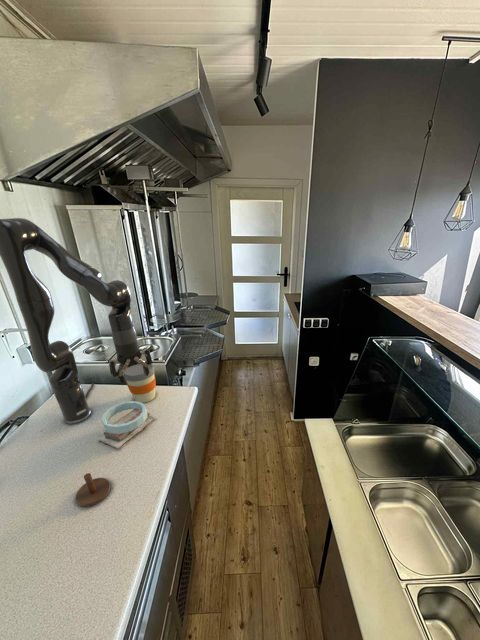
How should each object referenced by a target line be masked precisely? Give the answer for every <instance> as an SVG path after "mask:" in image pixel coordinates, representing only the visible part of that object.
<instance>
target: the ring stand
mask: <svg viewBox="0 0 480 640" xmlns="http://www.w3.org/2000/svg"><path fill="white" fill-rule="evenodd" d="M83 479H84V482H85V483H84V484H82V486H81V487H79V489H78V490H77V492H76V494H75V500H76V502H77V504H78V505H79V506H80V507H83V508H88V507H93V506H95V505H97V504H100V502H102V501H103V500H105V499H106V498H107V497H108V495H109V494H110V491H111V484H110V483H111V482H110V481H109V480H108V479H107V478H105V477H97V478H93V475H92V474H91V473H90V472H88V473H86V474H84V475H83Z"/></svg>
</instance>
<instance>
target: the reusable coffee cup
mask: <svg viewBox="0 0 480 640" xmlns="http://www.w3.org/2000/svg"><path fill="white" fill-rule="evenodd" d="M148 369H149V374H148V376H146V375H145V374H144V371H143V365H141V364H140V363H137V365H133V366H131V367H127V368H126V370H125V371H124V373H123V376H124V380H125V384H126V387H127V389H128V390H129V393H131V394H132V397H133V399H134V401H138V402H141V403H143V404H144V403H148V402H151V401H152V400H153V399H155V397H156V386H157V385H156V383H157V382H156V381H157V380H156V376H155V370H156V369H155V368H154V365H153V363H152V364H149V365H148Z"/></svg>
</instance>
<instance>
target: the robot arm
mask: <svg viewBox="0 0 480 640" xmlns="http://www.w3.org/2000/svg"><path fill="white" fill-rule="evenodd" d="M33 250H34V251H36V252H39V253H41V254H43V255H45V256H46V257H47V258H49V259H50V260H51V261H52V262H53V264H54V265H55V266H56V268H57V270H59V272H60V273H61V274H62V275H63V276H64V277H66V278H67V279H69V280H70V281H72V282H73V283H75V284H77V285H78V286H80V287H81V288H83V289H84V290H86V292H87V293H88V294H90V296H91V297H93V299H94V300H95V301H97V302H98V303H99V304H101V305H103V306H105V307H109V308H110V307H111V310H110V311H109V313H108V314H107V319H108V323H109V327H110V331H111V338H112V342H113V346H114V348H115V352H116V358H114V359H111V358H109V359H108V361H107V363H108V367H109V371H110V374H111V375H112V377H114V378H116V377H117V378H118V382H119V383H120V385H126V380H125V378H124V371H125V370H126V368H127V367H131V366H133V365H137V363H140V364H141V365H143V371H144V374H145V375H146V376H148V374H149V369H148V365H149V364H152V365H153V359H152V356H151V352H150V350H149V349H148V348H147V347H144V348H143V349H142V350H141V349H140V346H139V341H138V335H137V332H136V330H135V327H134V323H133V318H132V315H131V313H132V312H131V311H132V295H131V291H130V289H129V286H128V285H127V284H126V283H125V282H124V281H122V280H118V279H117V280H116V279H115V280H112V281H109V282H107V283H106V282H104V280H102V277H103V276H102V273H101V272H100V271H99V270H98V269H96V268H95V267H93V266H92V265H90V264H88V263H87V262H85V261H83V260H81V259H80V258H78V257H77V256H76V255H74V254H73V253H71V252H70V251H69V250H67V249H66V248H65V247H64V246H62V245H61V244H60V243H59V242H58V241H56V240H55V239H54V238H53V237H51V236H50V235H49V234H48V233H47V232H46V231H44V230H43V229H42V228H41V227H39V226H38V225H37V224H36V223H34V222H33V221H32V220H29V219H27V218H23V217H14V218H0V259H1V261H2V264H3V266H4V267H5V268H4V269H5V270H6V273H7V275H8V278H9V280H10V284H11V286H12V289H13V292H14V296H15V300H16V302H17V306H18V308H19V311H20V313H21V316H22V319H23V322H24V326H25V329H26V331H27V335H28V339H29V344H30V351H31V354H32V359H33V361H34V363H35V365H36V366H37V368H38V369H39V370H40V371H42V372H43V373H52V374H51V375H50V376H49V379H48V382H49V385H50V387H51V389H52V392H53V394H54V397H55V399H56V402H57V404H58V407H59V409H60V412H61V414H62V417H63V421H64V422H65V423H66V424H68V425H74V424H78V423H81V422H84V421H85V420H87V419H88V418H89V417H90V416H91V414H92V410H91V408H90V407H89V404H88V401H87V398H88V395H89V393H90V392H91V390H92V389H93V388H94V378H93V377H90V381H91V385H90V387H89V389H88V390H87V392H86V394H85V393H84V390H83V387H82V384H81V381H80V379H79V370H78V369H79V368H78V366H77V362H76V358H75V356H74V353H73V350H72V348H71V347H70V345H68V343H67V342H65V341H63V340H56V341H53V342H50V341H49V333H50V329H51V326H52V323H53V320H54V316H55V306H54V301H53V298H52V294H51V292H50V290H49V289H48V287H47V286H46V285H45V283H44V282H43V281H42V280H40V278H38V276H36V274H35V273H34V272H33V270H32V269H31V266H29V263H28V260H27V257H26V252H28V251H33ZM142 355H143V356H144V357H145V360H146V361H144V360H142V359H141V358H142ZM117 363H118V364H119V365H118V368H117V369H116V366H117Z"/></svg>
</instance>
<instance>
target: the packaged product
mask: <svg viewBox="0 0 480 640" xmlns="http://www.w3.org/2000/svg"><path fill="white" fill-rule="evenodd" d="M146 411H147V418H146V420H145V422H144V423H143V424H142V425H140V426H139V427H138V428H136V429H134V430H132V431H129V432H125V433H121V434H113V433H110V432H107V431H106V430H105V429H104V430H103V434H102V435H101V436H99V437H98V440H99V441H100V442H102V443H104V444H107V445H109V446H110V447H113V448H114V449H117V450H118V449H120V448H121V447H122V446H123V445H124V444H125V443H126V442H127V441H129V440H130V439H131V438H133V437H134V436H135V435H137V434H138V433H139V432H141V431H142V430H144V428H145V427H146V426H147V425H148V424H150V423H152V421H154V420H155V417H154V416H151V415H150V414H151V413H150V412H149V411H148V410H147V409H146ZM141 413H142V411H141V410H138V409H131V411H130V412H128V413H126V414H125V415H124V416H123V417H121V418H120V419H119V420H117V421H116V422H115V423H114V424H112V425H121V424H125V423H128V422H130V421H133V420H135V419H136V418H137V417H138V416H140V414H141Z"/></svg>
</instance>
